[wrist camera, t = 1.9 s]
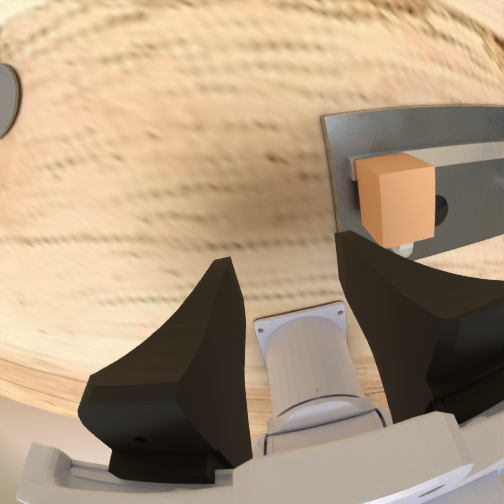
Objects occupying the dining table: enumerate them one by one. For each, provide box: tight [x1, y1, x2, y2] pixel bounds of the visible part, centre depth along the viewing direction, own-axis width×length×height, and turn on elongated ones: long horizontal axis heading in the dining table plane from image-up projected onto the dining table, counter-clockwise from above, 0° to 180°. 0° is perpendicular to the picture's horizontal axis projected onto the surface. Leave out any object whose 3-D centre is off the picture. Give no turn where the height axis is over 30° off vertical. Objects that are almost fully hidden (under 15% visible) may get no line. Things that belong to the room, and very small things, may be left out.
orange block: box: [355, 153, 435, 258], centre depth 17 cm, size 6×4×4 cm, turn 13°
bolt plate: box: [320, 105, 504, 261], centre depth 17 cm, size 12×24×6 cm, turn 103°
